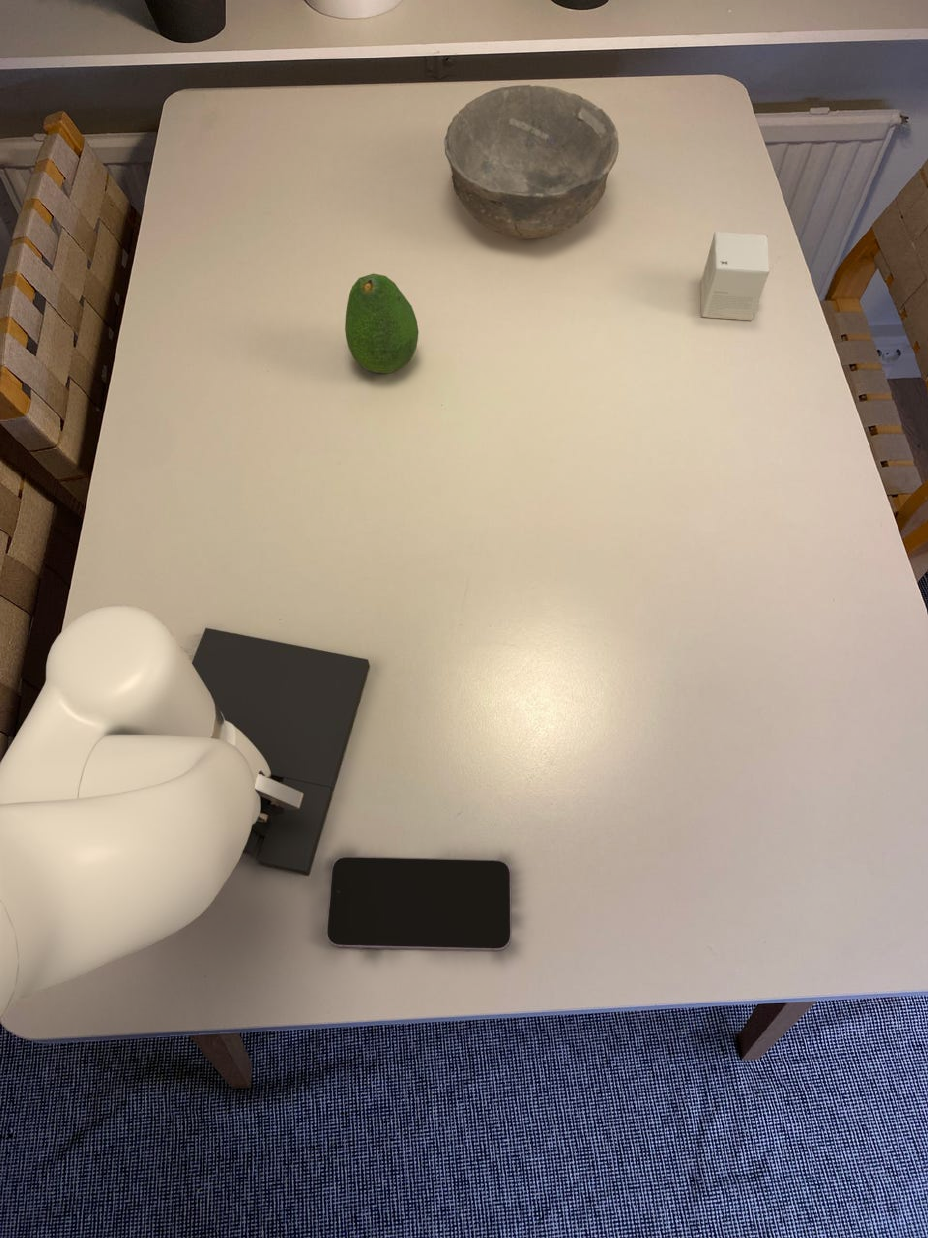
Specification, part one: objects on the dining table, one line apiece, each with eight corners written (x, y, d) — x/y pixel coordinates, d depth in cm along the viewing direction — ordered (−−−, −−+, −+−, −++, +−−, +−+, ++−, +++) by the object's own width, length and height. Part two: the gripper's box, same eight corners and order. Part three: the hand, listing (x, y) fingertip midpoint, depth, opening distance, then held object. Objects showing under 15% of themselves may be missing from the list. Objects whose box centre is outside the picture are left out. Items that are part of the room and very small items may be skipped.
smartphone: (511, 950, 74) (324, 946, 74) (510, 952, 75) (326, 948, 75) (510, 859, 77) (332, 855, 77) (509, 862, 78) (333, 858, 78)
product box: (752, 322, 107) (770, 272, 101) (699, 318, 108) (714, 267, 101) (750, 285, 110) (768, 234, 104) (699, 281, 111) (714, 229, 104)
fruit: (425, 386, 103) (420, 304, 92) (354, 395, 102) (341, 313, 92) (415, 334, 107) (410, 249, 96) (347, 342, 106) (334, 257, 95)
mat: (309, 876, 78) (306, 872, 76) (130, 836, 79) (125, 831, 78) (370, 666, 87) (368, 659, 85) (209, 634, 88) (205, 627, 87)
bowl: (441, 160, 121) (440, 86, 112) (596, 154, 122) (607, 79, 113) (450, 270, 112) (448, 198, 103) (618, 263, 112) (631, 191, 103)
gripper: (24, 758, 62) (115, 831, 77) (271, 811, 60) (312, 874, 76) (70, 659, 65) (148, 748, 81) (305, 707, 63) (337, 788, 79)
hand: (227, 809), depth 78 cm, fingers closed on pad piece, 6 cm apart
